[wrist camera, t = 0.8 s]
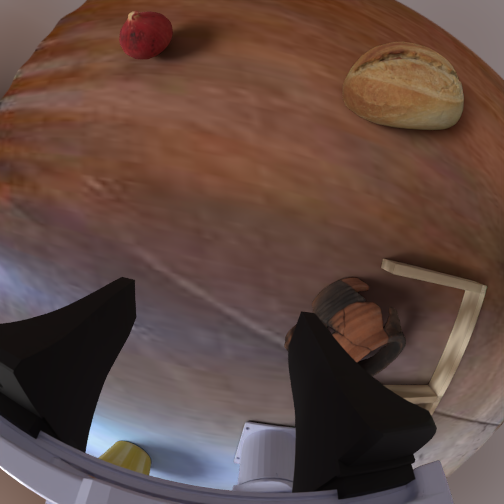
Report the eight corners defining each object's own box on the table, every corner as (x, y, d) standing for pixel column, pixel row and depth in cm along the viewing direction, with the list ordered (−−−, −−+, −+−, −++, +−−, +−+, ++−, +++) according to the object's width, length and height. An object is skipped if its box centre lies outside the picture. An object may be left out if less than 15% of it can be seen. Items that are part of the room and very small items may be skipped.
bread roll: (324, 64, 24) (340, 23, 16) (430, 67, 22) (462, 40, 15) (350, 144, 25) (379, 120, 17) (455, 136, 24) (496, 122, 16)
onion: (172, 69, 24) (145, 32, 17) (129, 71, 25) (96, 40, 17) (186, 32, 24) (166, -8, 16) (144, 35, 24) (118, 1, 16)
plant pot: (137, 474, 34) (120, 510, 24) (95, 438, 33) (71, 472, 23) (174, 466, 32) (158, 510, 23) (128, 427, 31) (101, 469, 22)
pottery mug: (380, 263, 27) (427, 316, 20) (360, 323, 32) (392, 373, 25) (272, 285, 25) (306, 359, 18) (270, 348, 30) (293, 410, 23)
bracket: (411, 422, 29) (419, 434, 26) (323, 423, 29) (327, 438, 26) (473, 280, 26) (487, 286, 23) (383, 258, 26) (395, 263, 23)
